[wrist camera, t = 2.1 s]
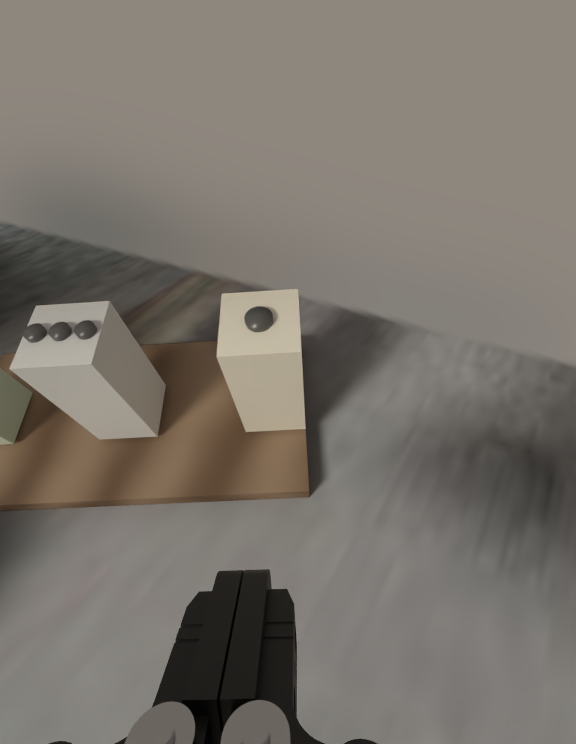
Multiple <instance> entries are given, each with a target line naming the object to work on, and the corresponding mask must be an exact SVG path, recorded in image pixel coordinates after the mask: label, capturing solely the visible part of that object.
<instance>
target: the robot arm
mask: <svg viewBox="0 0 576 744" xmlns="http://www.w3.org/2000/svg"><path fill="white" fill-rule="evenodd" d="M50 744H71V743H69V742H66V741H58V742H53V743H50ZM115 744H324V743H322V742H320V741H318V740H316V739H314V738H313V737H311V736H310V735H309V734H308V733H307V732H306V731H305V730H304V729H303V728H302V726H301V725H300V724H299V722H298V720H297V642H296V627H295V612H294V603H293V601H292V599H291V597H290V595H289V592H288V590H287V589H271V576H270V570H269V569H267V570H245V571H243V570H239V571H219V572H218V573H217V576H216V579H215V583H214V587H213V590H212V591H206V592H199V593H198V594H197V595H196V596H195V598H194V599H193V600H192V601H191V602H190V604H189V605H188V606H187V608H186V611H185V614H184V617H183V620H182V623H181V628H179V631H178V634H177V637H176V642H175V643H174V646H173V649H172V652H171V655H170V657H169V660H168V663H167V666H166V669H165V672H164V675H163V678H162V681H161V684H160V686H159V689H158V692H157V695H156V698H155V701H154V703H153V706H152V708H151V709H149V710H148V711H147V712H145V713H144V714H143V715H142V716H141V717H140V718H139V719H138V720H137V722H136V723H135V724H134V726H133V727H132V729H131V731H130V733H129V734H128V736H127V737H126V738H124V739H123V740H121V741H119V742H117V743H115ZM344 744H377V743H375V742H373V741H370V740H366V739H354V740H351V741H348V742H346V743H344Z"/></svg>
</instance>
